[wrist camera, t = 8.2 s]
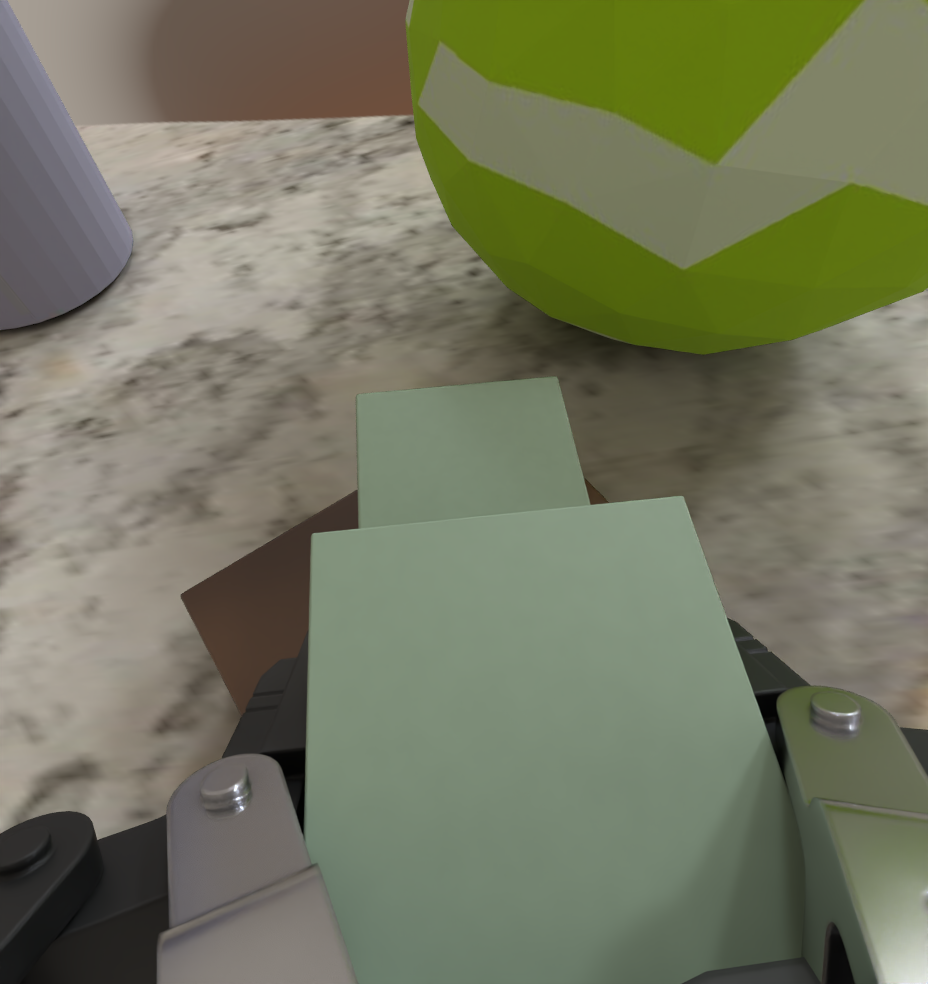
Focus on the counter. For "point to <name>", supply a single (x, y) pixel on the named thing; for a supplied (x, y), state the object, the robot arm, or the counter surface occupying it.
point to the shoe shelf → (268, 600)
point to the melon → (682, 158)
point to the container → (48, 196)
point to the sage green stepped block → (532, 718)
